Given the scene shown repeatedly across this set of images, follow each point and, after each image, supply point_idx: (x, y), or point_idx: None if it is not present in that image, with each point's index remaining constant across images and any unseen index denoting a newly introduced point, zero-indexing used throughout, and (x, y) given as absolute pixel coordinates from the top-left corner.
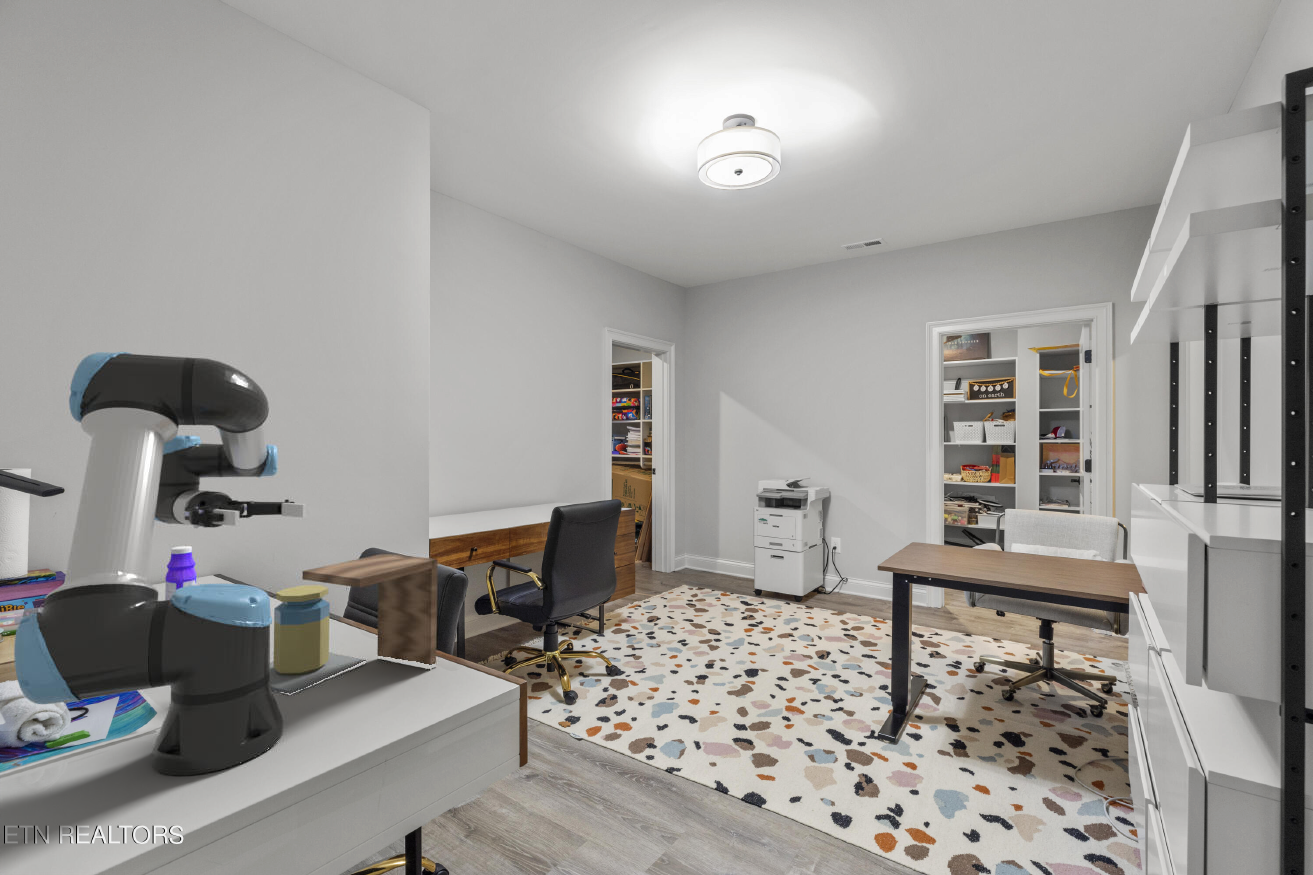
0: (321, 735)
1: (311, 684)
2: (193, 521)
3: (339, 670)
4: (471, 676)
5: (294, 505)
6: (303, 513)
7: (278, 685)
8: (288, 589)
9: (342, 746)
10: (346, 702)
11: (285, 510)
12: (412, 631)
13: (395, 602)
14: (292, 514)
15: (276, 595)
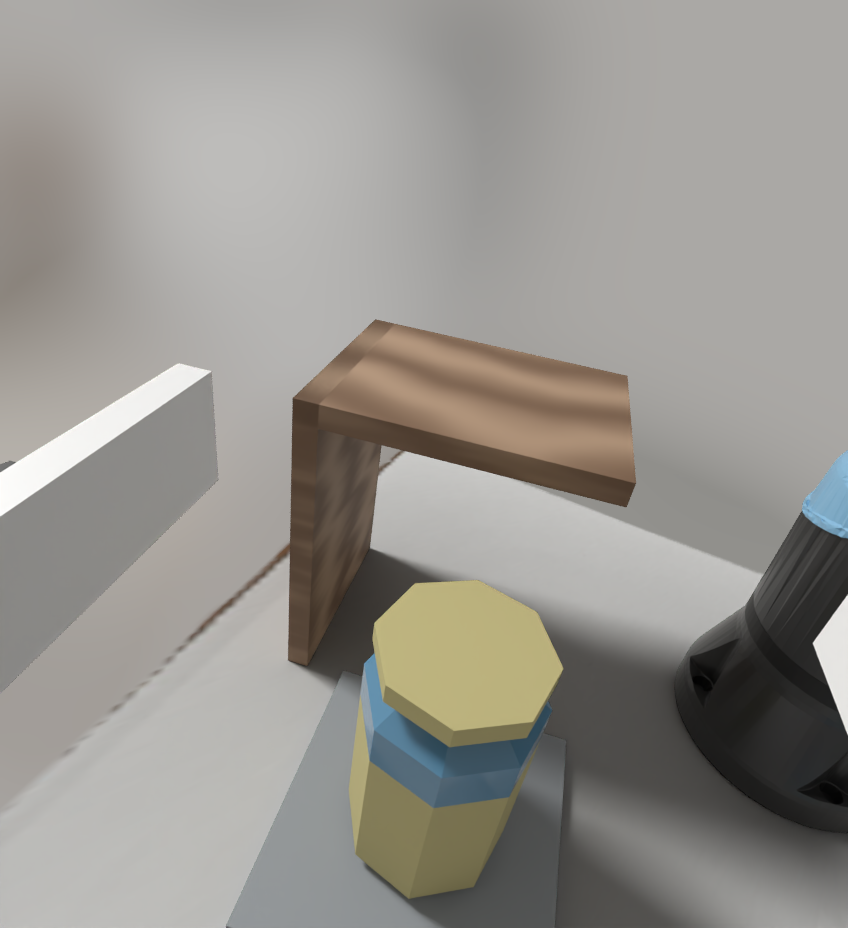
0: (656, 601)
1: None
2: None
3: None
4: (391, 491)
5: (128, 445)
6: (211, 447)
7: (549, 794)
8: (468, 707)
9: (663, 564)
10: (546, 620)
11: (15, 607)
12: (358, 517)
13: (340, 496)
14: (122, 551)
15: (532, 725)
